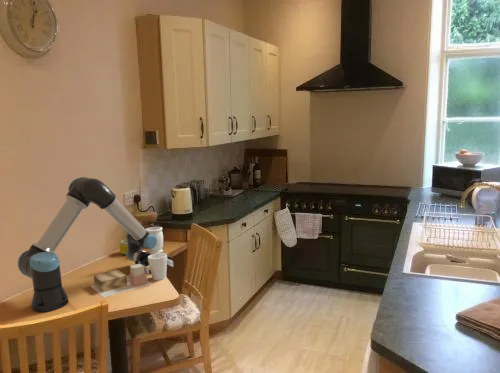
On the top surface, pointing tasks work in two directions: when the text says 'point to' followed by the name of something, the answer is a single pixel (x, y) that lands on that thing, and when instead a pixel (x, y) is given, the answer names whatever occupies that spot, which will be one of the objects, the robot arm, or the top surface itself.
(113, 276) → the oak plinth
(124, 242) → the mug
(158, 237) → the jar
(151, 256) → the foam cup
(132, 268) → the terracotta tower
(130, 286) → the white board
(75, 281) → the top surface
